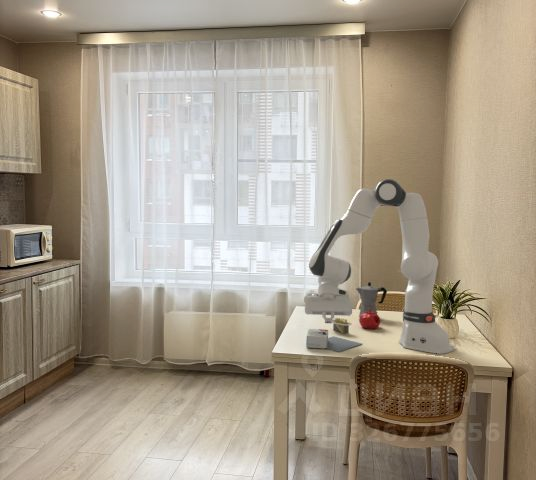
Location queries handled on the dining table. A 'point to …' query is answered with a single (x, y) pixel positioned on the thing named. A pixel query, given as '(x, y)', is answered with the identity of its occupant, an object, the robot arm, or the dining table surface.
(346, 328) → the rectangular planter
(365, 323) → the pomegranate
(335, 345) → the mat
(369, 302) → the coffeepot
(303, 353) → the dining table surface
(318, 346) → the ink box
